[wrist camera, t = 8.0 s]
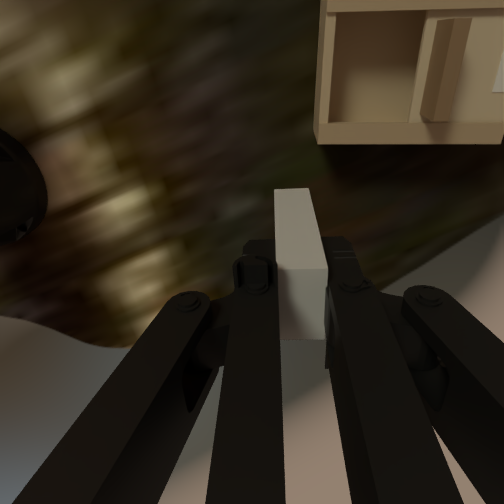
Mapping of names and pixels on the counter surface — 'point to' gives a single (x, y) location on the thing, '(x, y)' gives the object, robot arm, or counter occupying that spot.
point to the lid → (460, 67)
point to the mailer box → (381, 75)
